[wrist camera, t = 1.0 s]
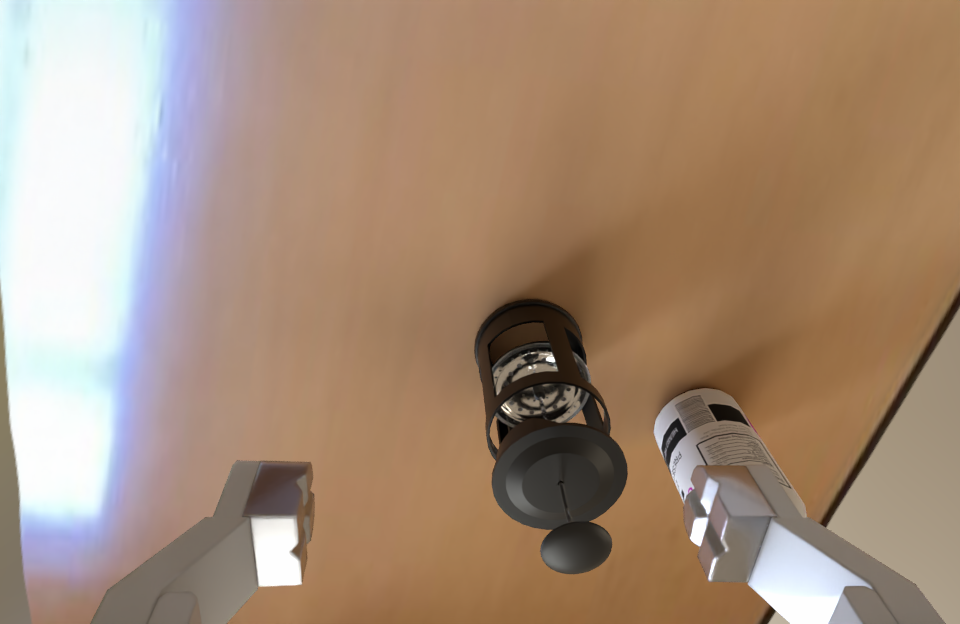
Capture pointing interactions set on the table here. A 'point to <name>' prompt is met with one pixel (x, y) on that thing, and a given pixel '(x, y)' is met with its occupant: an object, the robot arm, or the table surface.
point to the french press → (550, 436)
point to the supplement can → (711, 439)
